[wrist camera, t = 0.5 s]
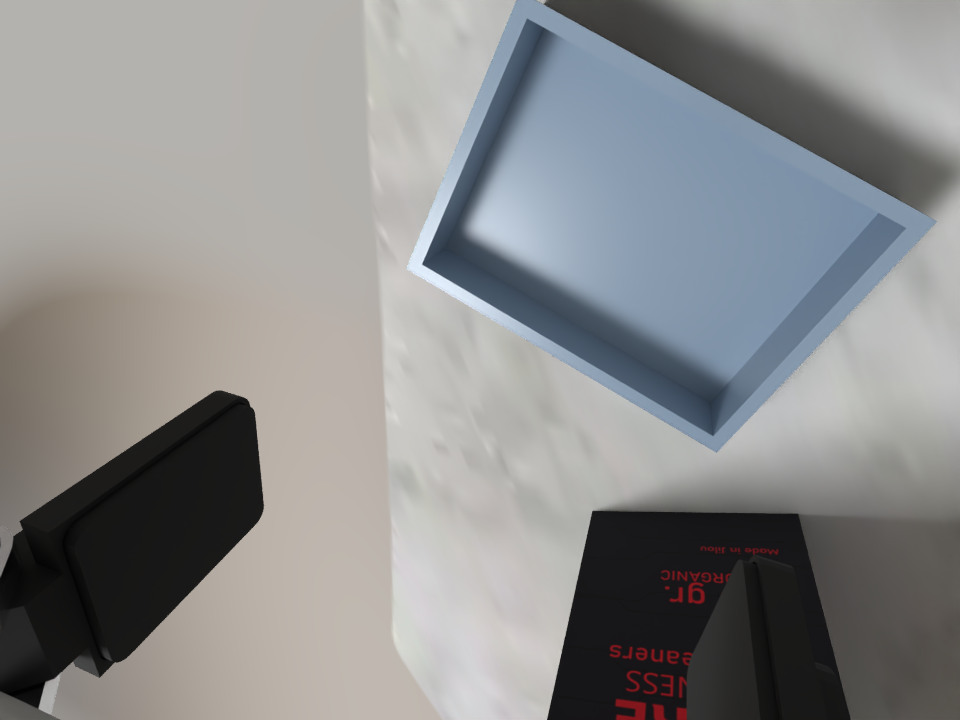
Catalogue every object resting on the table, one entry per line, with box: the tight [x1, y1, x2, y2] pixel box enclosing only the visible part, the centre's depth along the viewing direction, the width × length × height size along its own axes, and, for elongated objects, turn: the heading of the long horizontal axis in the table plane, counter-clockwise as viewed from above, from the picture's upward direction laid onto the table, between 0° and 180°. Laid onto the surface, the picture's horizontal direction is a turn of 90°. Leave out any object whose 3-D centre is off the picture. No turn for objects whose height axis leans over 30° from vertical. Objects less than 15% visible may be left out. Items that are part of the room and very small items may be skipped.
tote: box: [406, 0, 937, 452], centre depth 32 cm, size 16×22×5 cm
